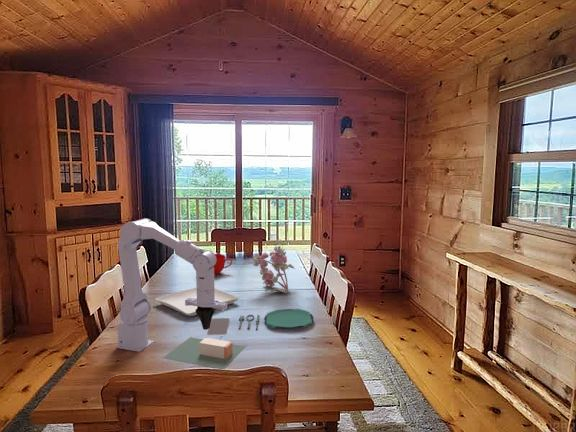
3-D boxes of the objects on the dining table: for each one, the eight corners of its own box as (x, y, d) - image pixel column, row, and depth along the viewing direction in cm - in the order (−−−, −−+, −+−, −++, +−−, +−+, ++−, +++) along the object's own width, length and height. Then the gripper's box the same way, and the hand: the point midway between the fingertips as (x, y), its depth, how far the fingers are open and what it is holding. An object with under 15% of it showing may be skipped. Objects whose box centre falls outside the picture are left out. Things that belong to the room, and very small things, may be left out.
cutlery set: (316, 332, 148) (316, 326, 148) (236, 334, 147) (236, 328, 147) (311, 312, 168) (311, 307, 168) (240, 314, 167) (240, 309, 167)
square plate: (240, 304, 177) (240, 296, 177) (188, 322, 157) (187, 313, 157) (205, 291, 196) (205, 283, 195) (154, 305, 176) (153, 297, 175)
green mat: (162, 358, 127) (162, 357, 127) (190, 338, 142) (190, 337, 142) (223, 370, 120) (223, 369, 120) (245, 347, 135) (245, 346, 135)
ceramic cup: (230, 276, 219) (230, 259, 218) (200, 276, 219) (199, 259, 218) (233, 270, 232) (233, 254, 231) (205, 270, 232) (204, 253, 231)
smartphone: (206, 334, 144) (211, 318, 159) (206, 337, 144) (211, 320, 159) (226, 334, 145) (230, 318, 159) (226, 336, 145) (230, 320, 160)
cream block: (199, 342, 129) (226, 347, 126) (205, 337, 133) (232, 342, 130) (199, 354, 130) (226, 359, 126) (206, 348, 133) (232, 353, 130)
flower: (306, 281, 206) (285, 238, 206) (303, 290, 183) (280, 242, 184) (271, 296, 208) (251, 253, 208) (264, 308, 185) (242, 259, 186)
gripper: (231, 287, 129) (231, 326, 131) (192, 282, 134) (193, 320, 136) (220, 293, 123) (221, 335, 125) (180, 288, 127) (182, 328, 129)
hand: (206, 328), depth 130 cm, fingers closed
